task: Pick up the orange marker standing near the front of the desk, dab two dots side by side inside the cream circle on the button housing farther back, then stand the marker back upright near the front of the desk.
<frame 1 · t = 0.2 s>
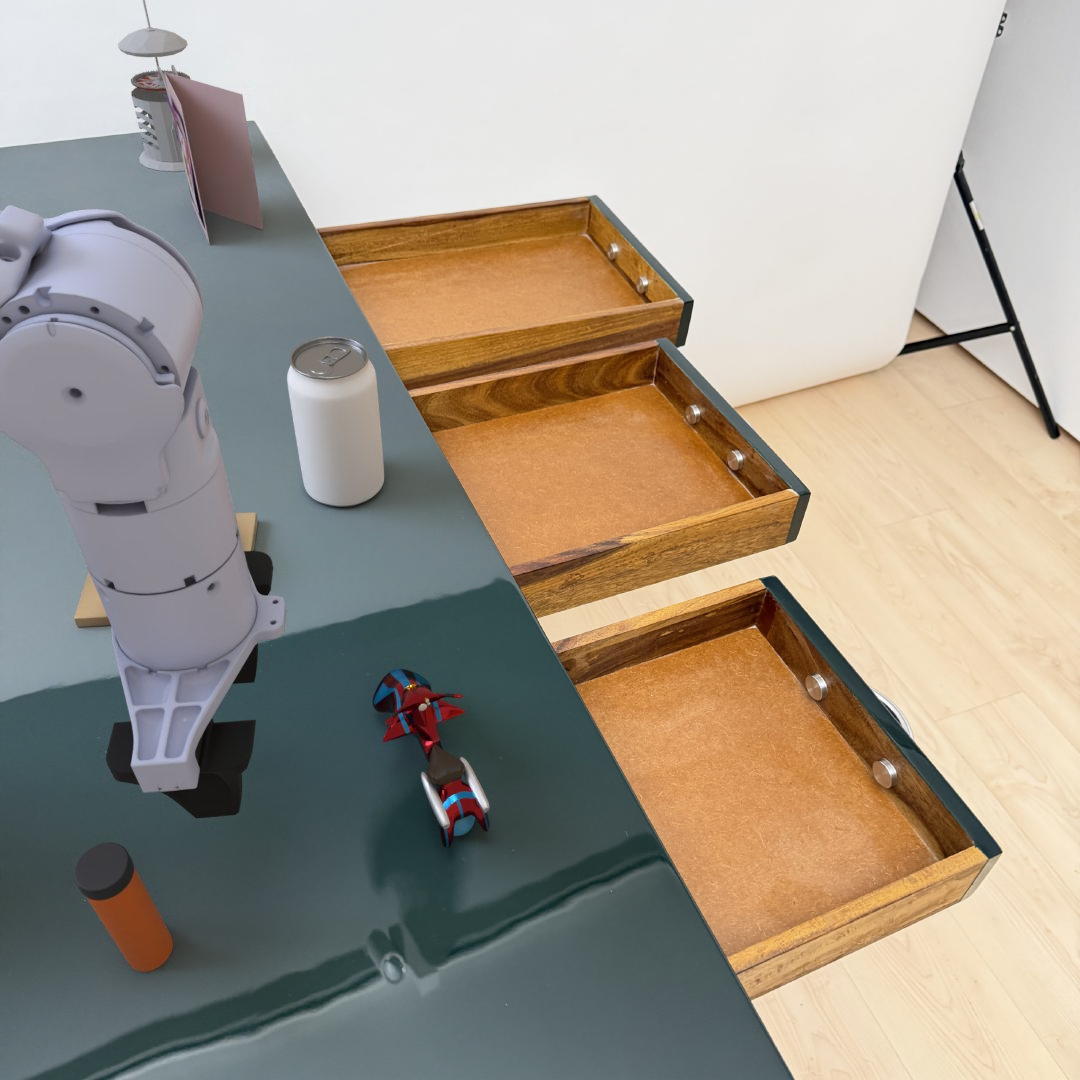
hand: (226, 740, 45), 9 cm above the table, tool pointing down, fingers open, 7 cm apart
greeting card: (225, 222, 107), on the table
french press: (180, 160, 119), on the table
button housing: (173, 570, 65), on the table
can: (345, 485, 73), on the table
circle pad: (164, 542, 63), point 3 cm above the table, slide at 0.1 cm
hoverbike: (429, 768, 54), on the table
marker: (150, 949, 46), on the table
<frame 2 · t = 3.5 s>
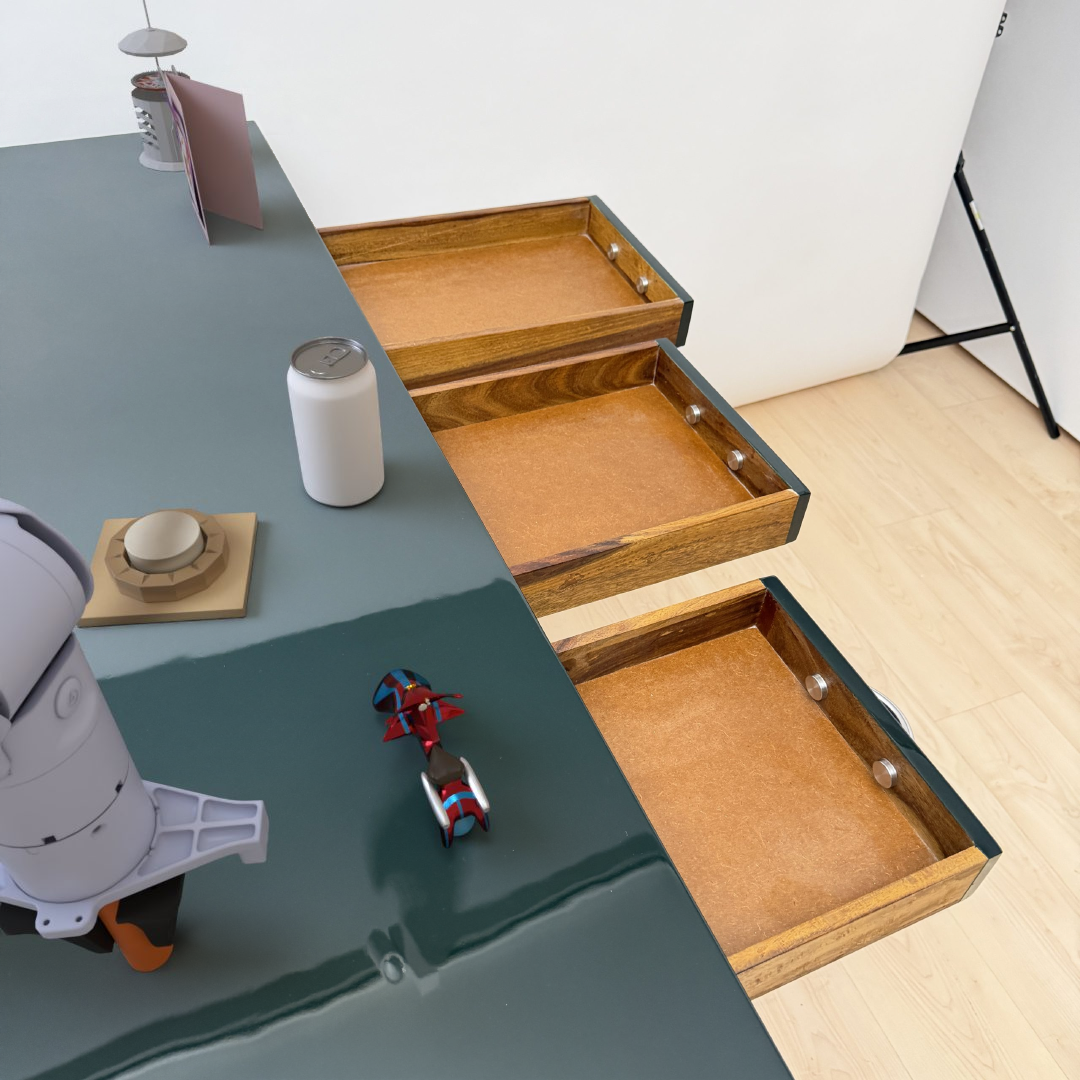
hand: (138, 929, 44), 2 cm above the table, tool pointing down, fingers closed on marker, 2 cm apart
marker: (150, 949, 46), on the table, touching gripper
everything else where it was.
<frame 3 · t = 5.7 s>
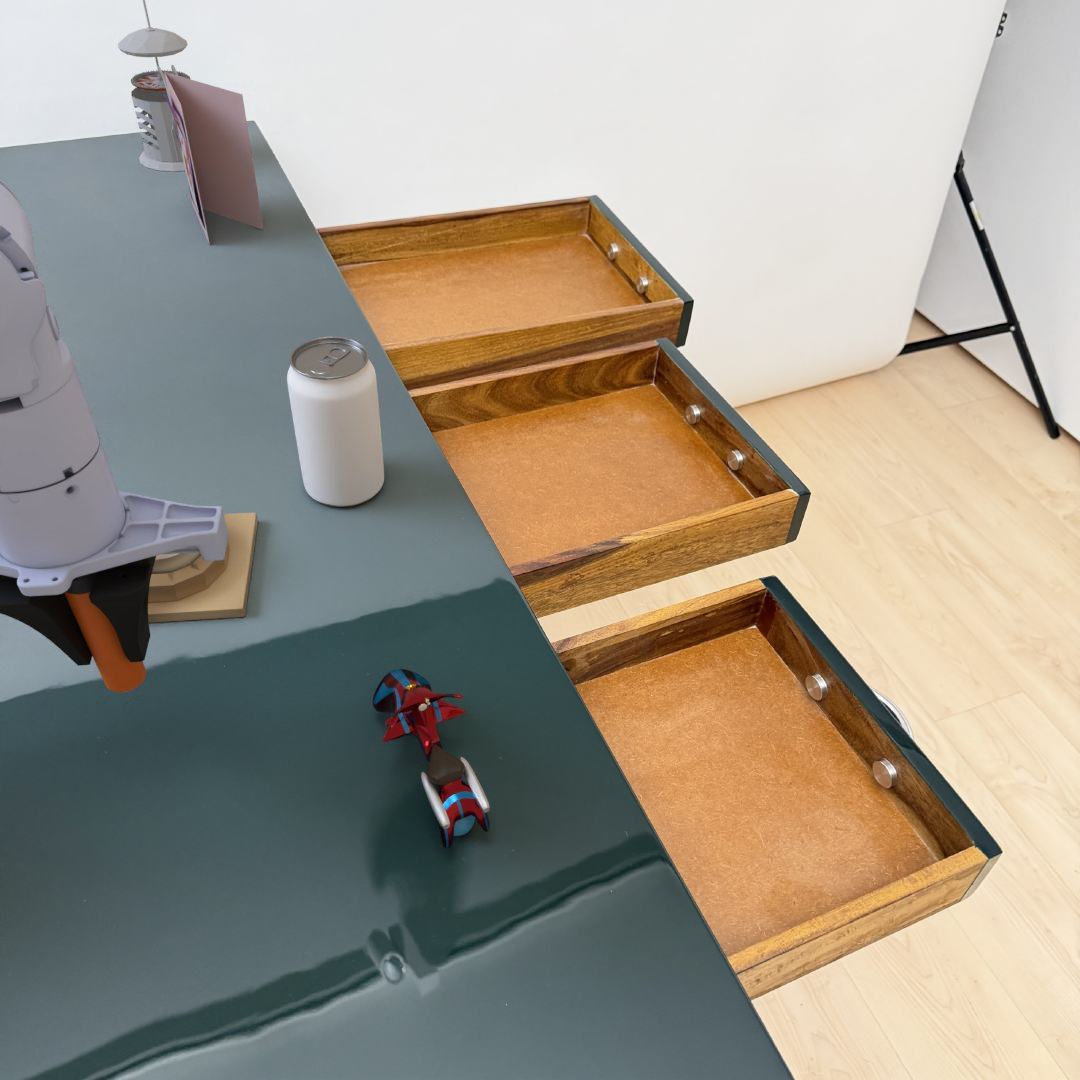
hand: (113, 649, 49), 8 cm above the table, tool pointing down, fingers closed on marker, 2 cm apart
marker: (125, 677, 51), point 6 cm above the table, touching gripper
everything else where it was.
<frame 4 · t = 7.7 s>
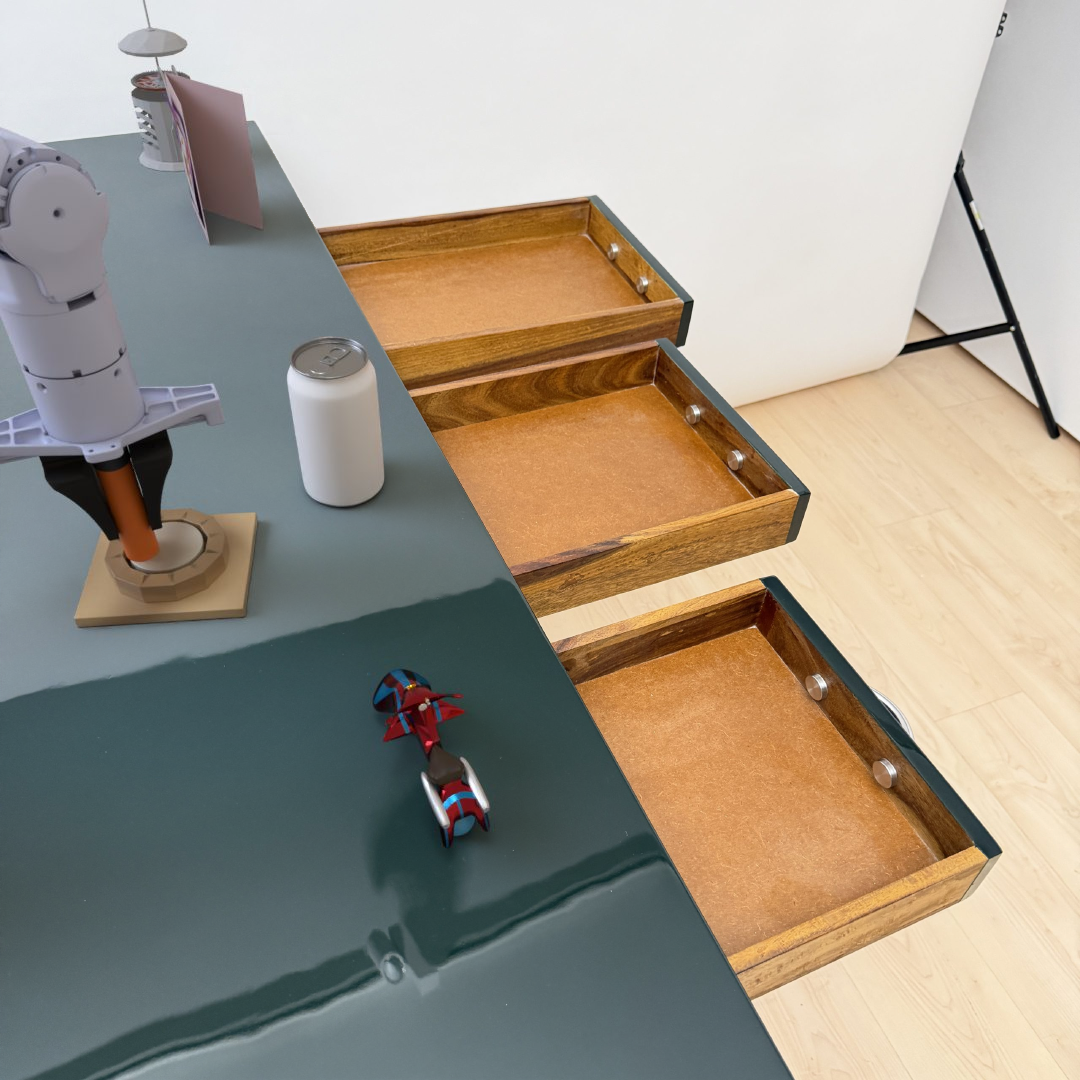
hand: (133, 525, 61), 5 cm above the table, tool pointing down, fingers closed on marker, 2 cm apart
circle pad: (168, 552, 64), point 2 cm above the table, slide at -1.0 cm, touching marker
marker: (142, 550, 63), point 3 cm above the table, touching circle pad, gripper
everything else where it was.
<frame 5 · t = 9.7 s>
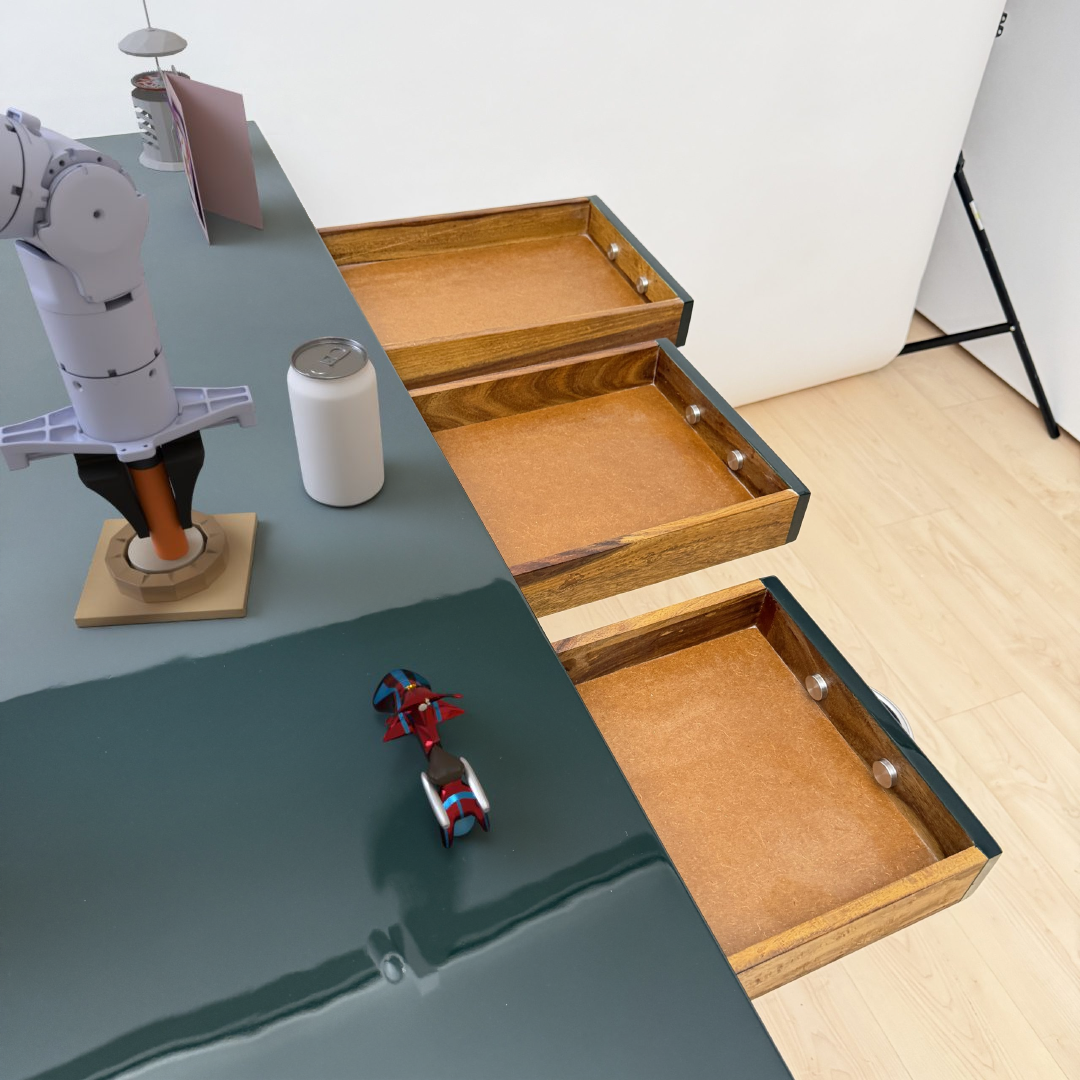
hand: (164, 524, 61), 5 cm above the table, tool pointing down, fingers closed on marker, 2 cm apart
marker: (172, 549, 63), point 3 cm above the table, touching circle pad, gripper
everything else where it was.
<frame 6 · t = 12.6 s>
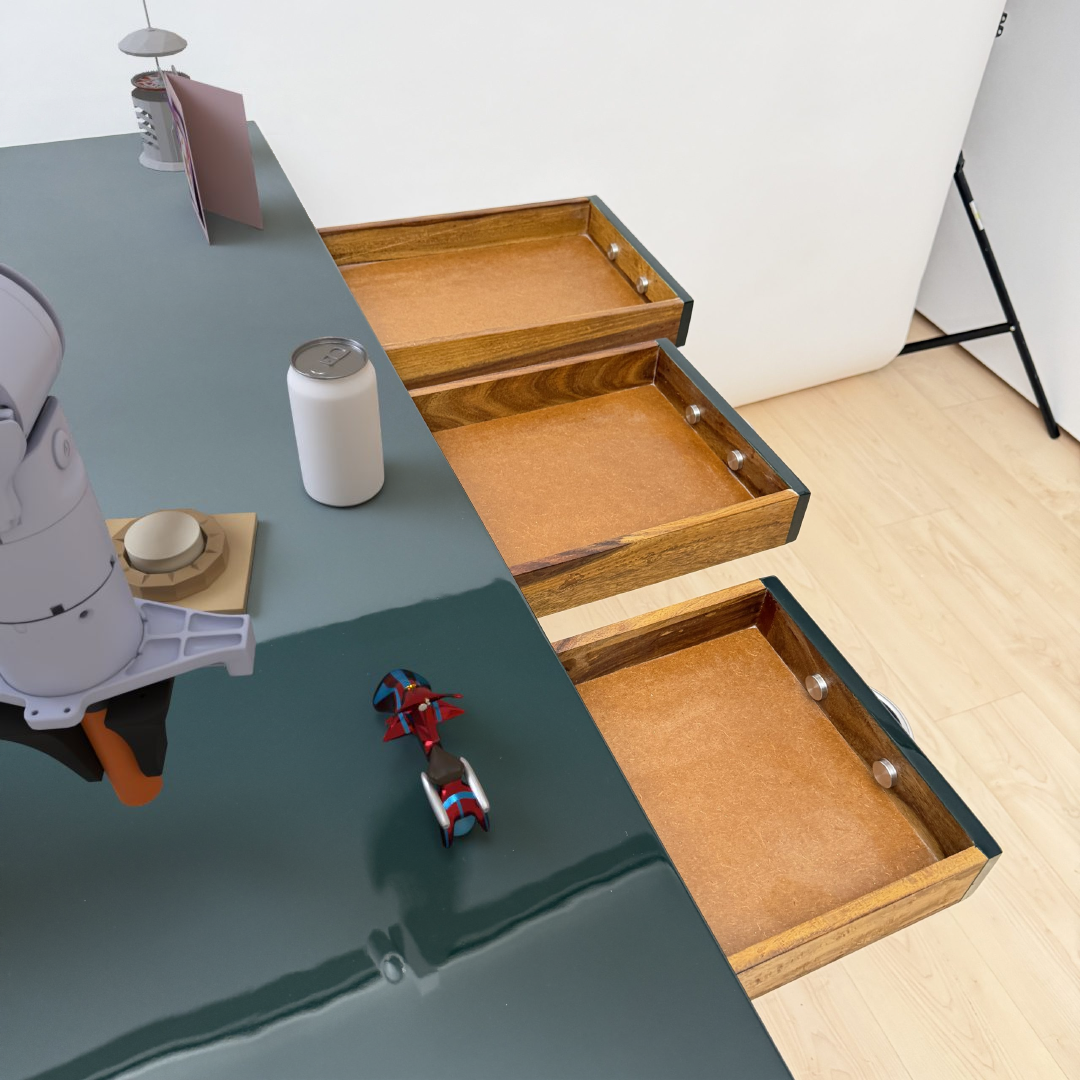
hand: (127, 761, 45), 8 cm above the table, tool pointing down, fingers closed on marker, 2 cm apart
circle pad: (164, 542, 63), point 3 cm above the table, slide at 0.1 cm
marker: (140, 787, 46), point 6 cm above the table, touching gripper
everything else where it was.
when the fingers open (2 cm above the table, at t = 14.7 s): marker stays where it is, on the table.
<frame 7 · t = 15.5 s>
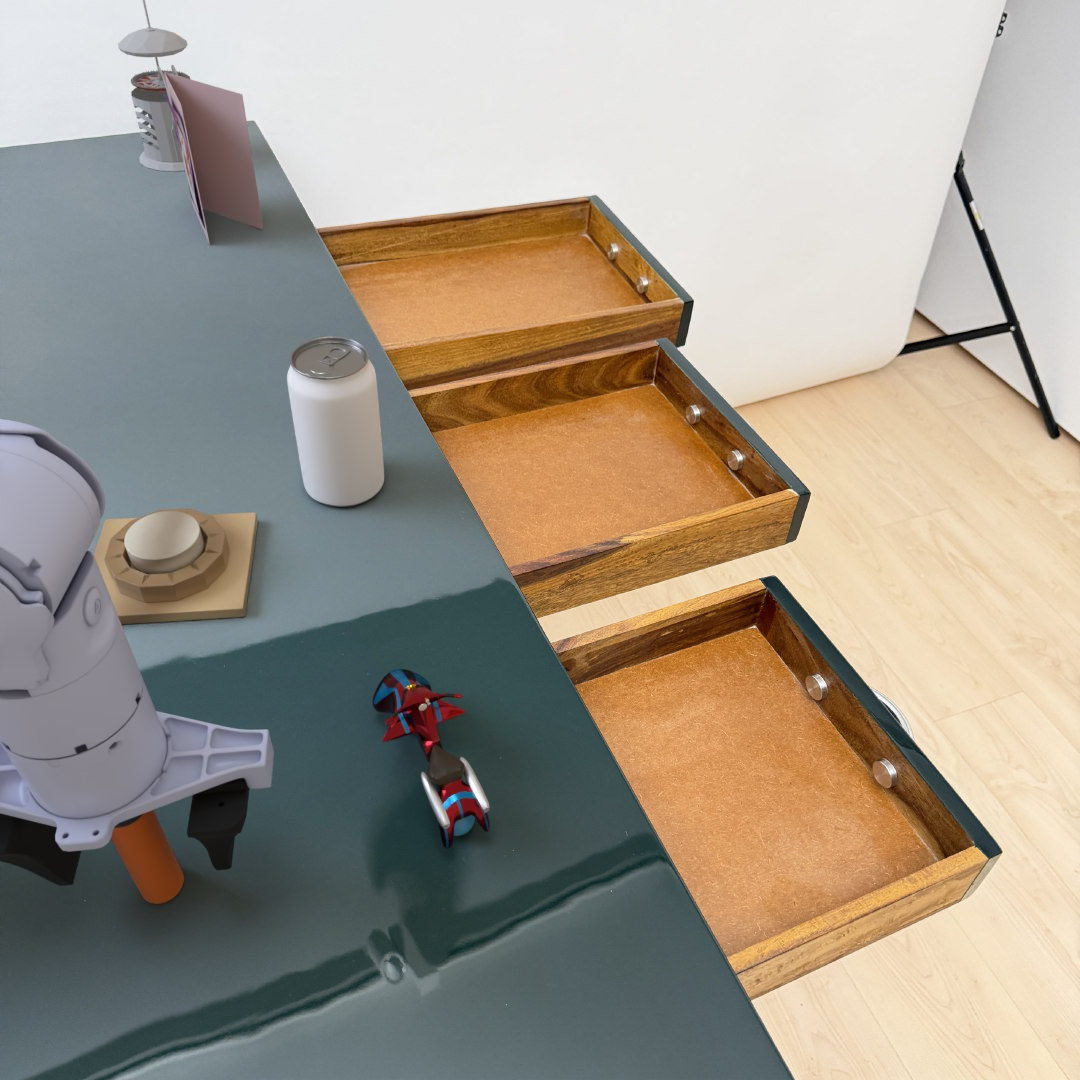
hand: (149, 859, 46), 3 cm above the table, tool pointing down, fingers open, 7 cm apart
marker: (162, 884, 48), on the table
everything else where it was.
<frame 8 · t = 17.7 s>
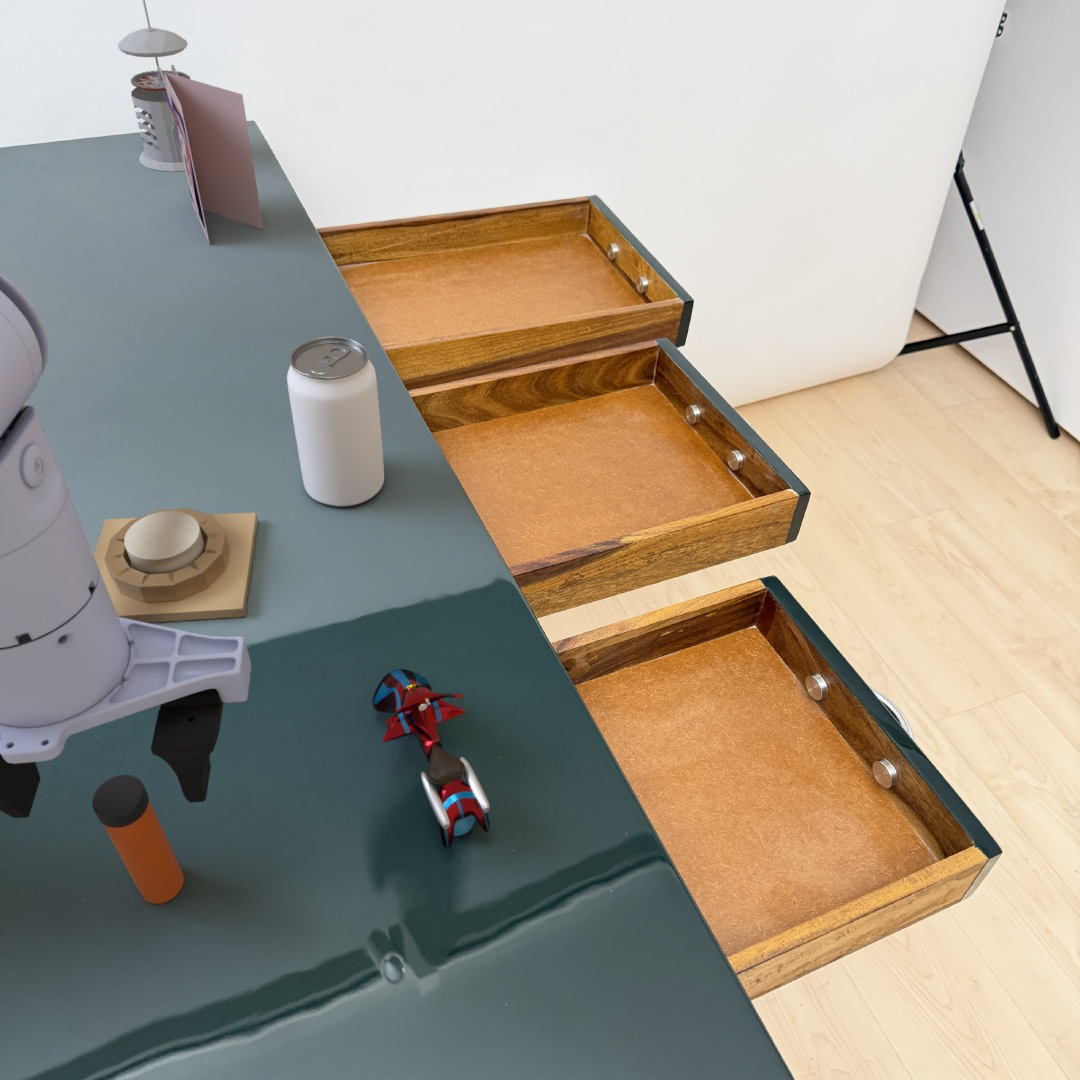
hand: (114, 790, 42), 9 cm above the table, tool pointing down, fingers open, 7 cm apart
nothing on the table moved.
at the end: circle pad pushed in 1.0 cm at the most during the clip, back to where it started at the end; marker 0.0 cm from the target spot, on the table; marker tilted 0° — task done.
